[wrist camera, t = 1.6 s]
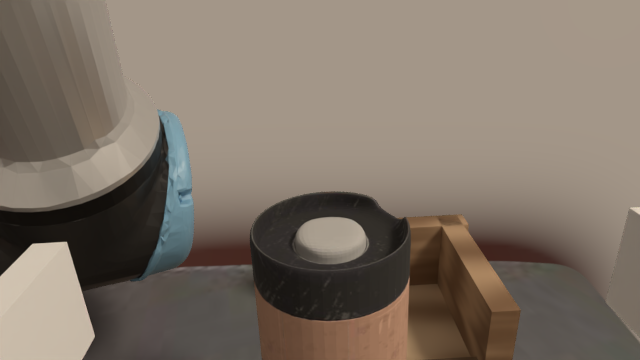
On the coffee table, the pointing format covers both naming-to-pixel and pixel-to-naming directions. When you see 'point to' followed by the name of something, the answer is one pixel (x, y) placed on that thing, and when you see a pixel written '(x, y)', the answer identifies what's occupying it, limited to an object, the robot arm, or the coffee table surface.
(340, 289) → the travel mug
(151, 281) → the coffee table surface
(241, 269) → the coffee table surface
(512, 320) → the wooden holder
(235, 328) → the coffee table surface
